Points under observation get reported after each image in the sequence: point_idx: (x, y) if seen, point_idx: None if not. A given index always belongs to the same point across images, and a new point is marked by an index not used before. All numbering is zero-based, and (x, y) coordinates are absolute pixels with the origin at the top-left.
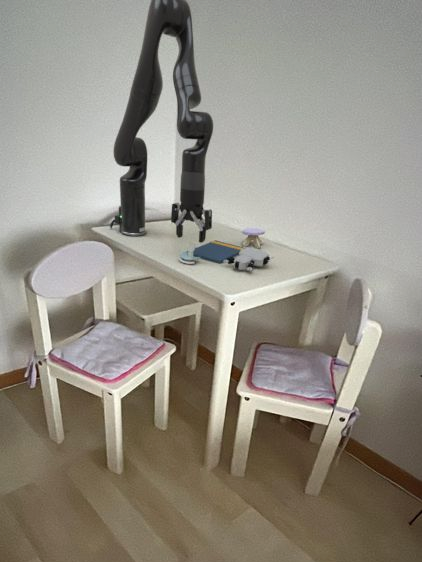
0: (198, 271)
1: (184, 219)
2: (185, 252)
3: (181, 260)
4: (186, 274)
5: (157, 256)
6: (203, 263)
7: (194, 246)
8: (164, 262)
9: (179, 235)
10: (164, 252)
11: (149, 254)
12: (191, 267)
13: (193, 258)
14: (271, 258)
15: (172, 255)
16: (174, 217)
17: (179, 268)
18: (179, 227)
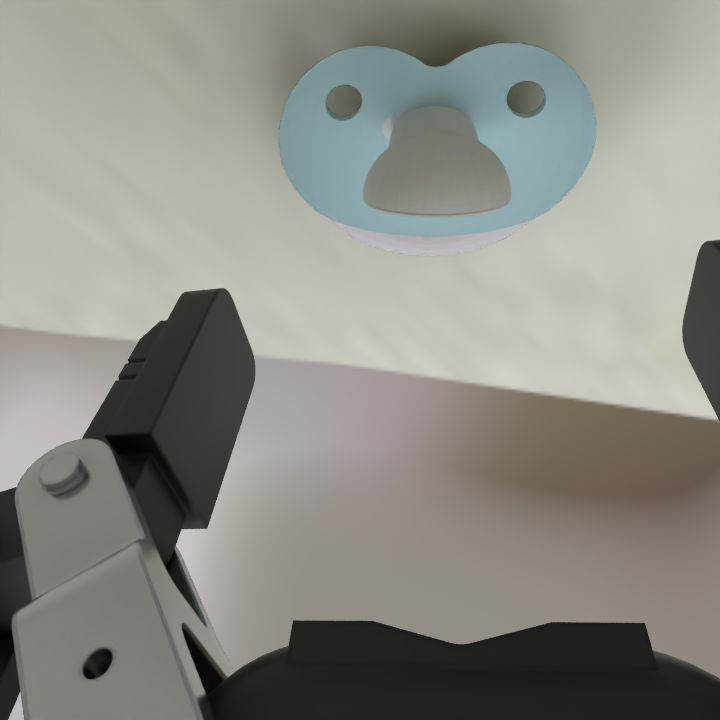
0: (687, 287)
1: (191, 622)
2: (295, 102)
3: (397, 249)
4: (624, 401)
5: (113, 277)
6: (615, 30)
7: (507, 203)
8: (291, 339)
9: (247, 383)
10: (4, 126)
11: (30, 293)
12: (565, 257)
13: (463, 99)
14: None
15: (142, 130)
16: (10, 701)
17: (491, 351)
18: (210, 502)
